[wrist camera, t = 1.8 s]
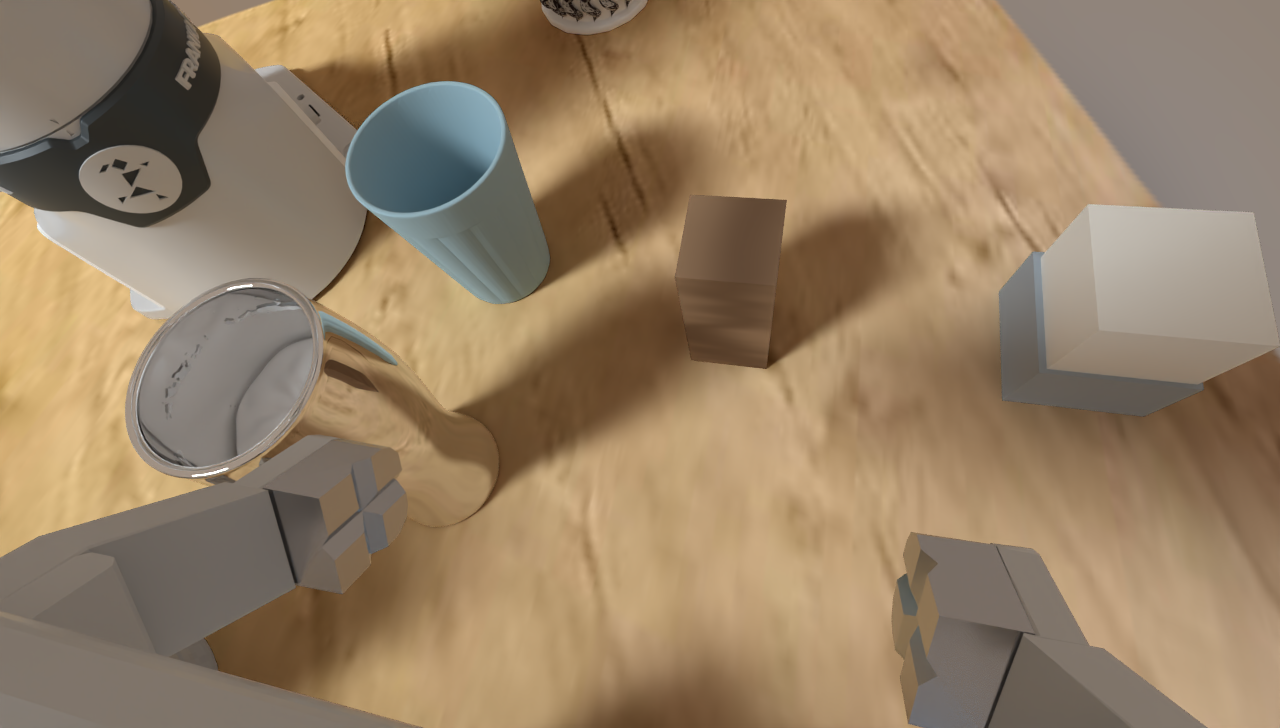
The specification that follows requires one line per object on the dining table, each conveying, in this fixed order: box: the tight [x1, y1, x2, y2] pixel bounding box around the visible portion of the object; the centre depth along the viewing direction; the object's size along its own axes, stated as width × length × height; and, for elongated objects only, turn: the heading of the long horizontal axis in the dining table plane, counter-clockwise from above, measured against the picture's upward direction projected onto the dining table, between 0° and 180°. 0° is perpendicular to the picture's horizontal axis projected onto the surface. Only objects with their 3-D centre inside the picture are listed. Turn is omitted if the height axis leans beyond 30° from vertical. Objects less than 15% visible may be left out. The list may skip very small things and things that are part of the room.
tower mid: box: [1041, 204, 1280, 385], centre depth 24 cm, size 6×6×4 cm
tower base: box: [999, 252, 1204, 417], centre depth 27 cm, size 6×6×4 cm
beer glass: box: [125, 278, 499, 527], centre depth 25 cm, size 7×7×15 cm
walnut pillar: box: [675, 195, 787, 369], centre depth 28 cm, size 4×4×9 cm
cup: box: [345, 81, 550, 304], centre depth 31 cm, size 8×8×10 cm
